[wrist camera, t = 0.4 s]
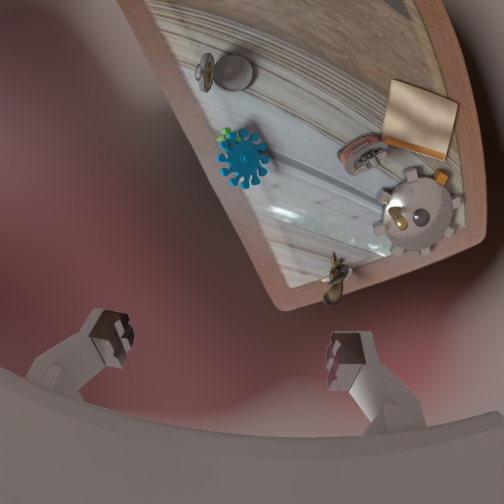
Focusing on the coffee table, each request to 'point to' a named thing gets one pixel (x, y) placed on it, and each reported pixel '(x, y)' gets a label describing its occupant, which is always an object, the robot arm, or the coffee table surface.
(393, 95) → the pad
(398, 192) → the sprocket
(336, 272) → the eagle figurine
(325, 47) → the coffee table surface
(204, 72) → the pocket watch
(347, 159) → the lighter
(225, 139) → the gear
